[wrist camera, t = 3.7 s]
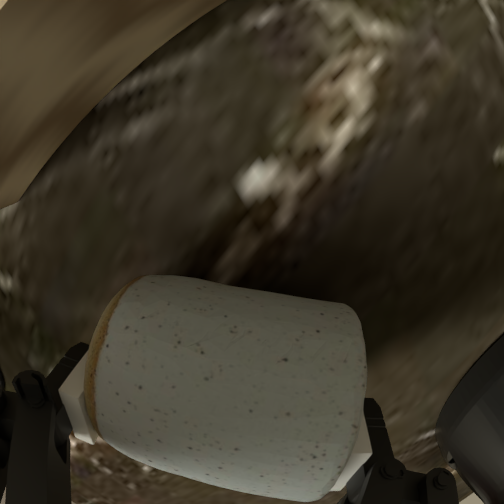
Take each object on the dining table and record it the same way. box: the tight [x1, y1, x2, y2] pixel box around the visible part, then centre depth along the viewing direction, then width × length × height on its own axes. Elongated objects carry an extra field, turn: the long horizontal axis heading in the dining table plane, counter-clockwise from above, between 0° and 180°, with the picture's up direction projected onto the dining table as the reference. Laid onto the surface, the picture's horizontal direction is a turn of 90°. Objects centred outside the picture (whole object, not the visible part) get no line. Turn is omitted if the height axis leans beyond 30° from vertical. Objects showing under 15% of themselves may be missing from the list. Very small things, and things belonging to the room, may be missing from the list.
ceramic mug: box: [84, 275, 367, 502], centre depth 11 cm, size 11×8×8 cm
